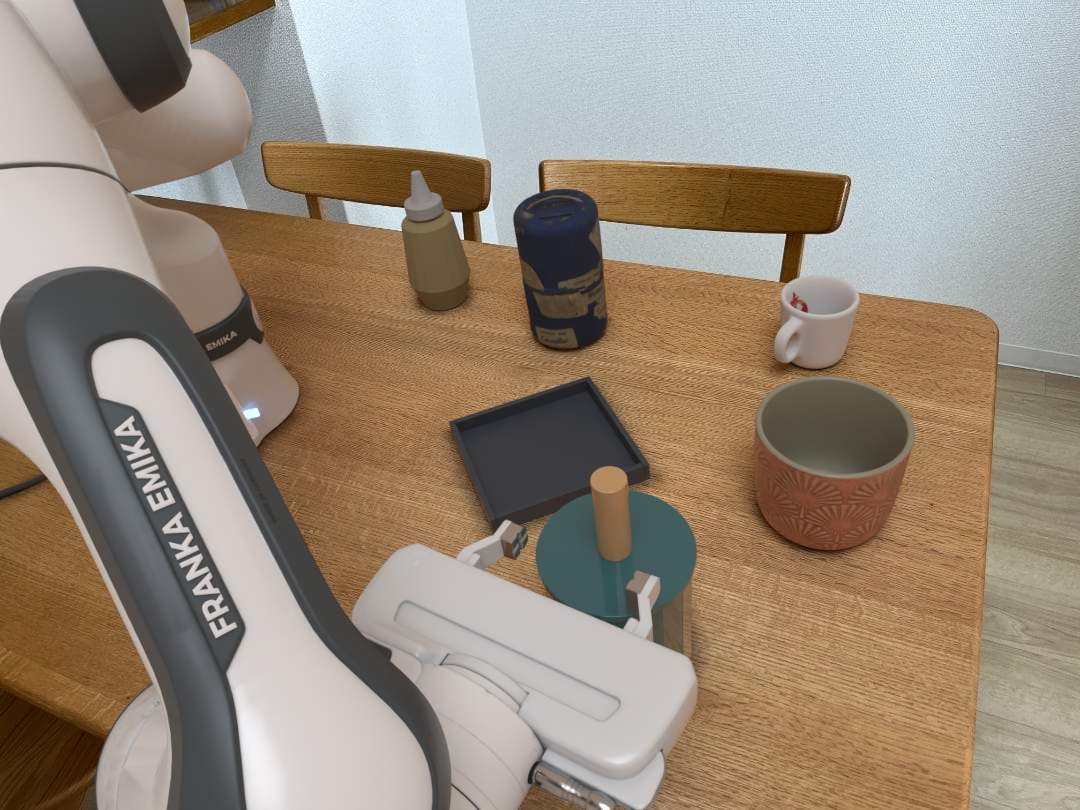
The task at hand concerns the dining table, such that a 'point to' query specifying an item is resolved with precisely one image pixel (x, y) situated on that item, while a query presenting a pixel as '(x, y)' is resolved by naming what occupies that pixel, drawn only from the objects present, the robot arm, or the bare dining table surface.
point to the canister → (562, 267)
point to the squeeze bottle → (433, 249)
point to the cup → (815, 321)
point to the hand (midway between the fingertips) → (581, 552)
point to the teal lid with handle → (614, 548)
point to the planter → (830, 459)
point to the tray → (543, 451)
